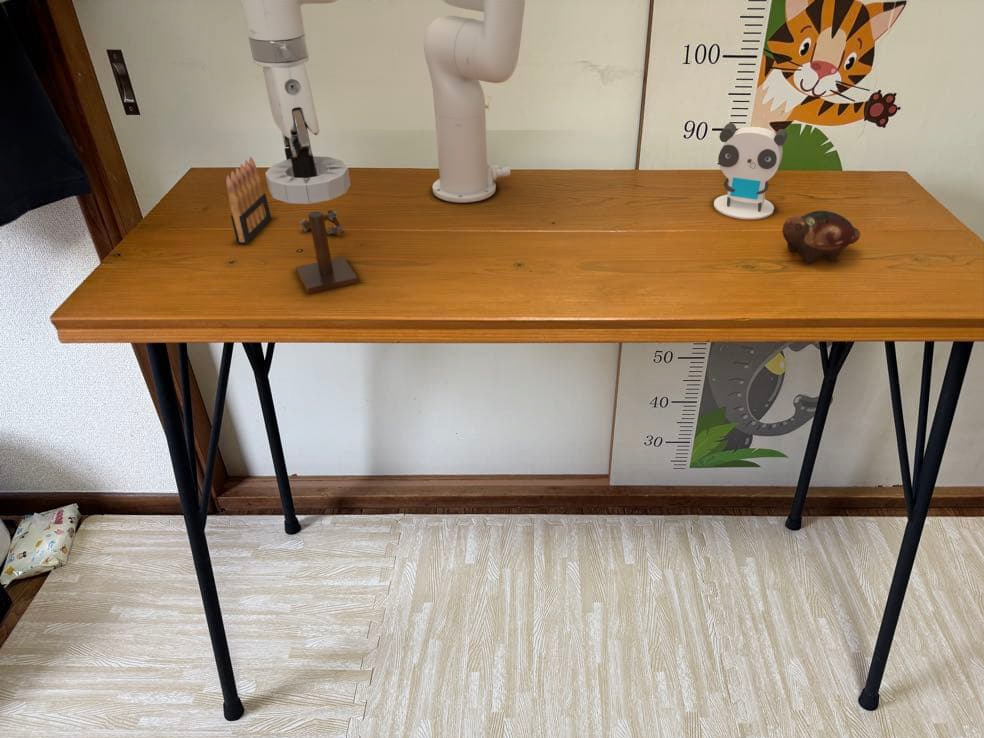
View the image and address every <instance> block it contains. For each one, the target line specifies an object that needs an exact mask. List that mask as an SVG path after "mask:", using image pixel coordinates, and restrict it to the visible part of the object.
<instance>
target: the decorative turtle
mask: <svg viewBox="0 0 984 738" xmlns="http://www.w3.org/2000/svg"><path fill="white" fill-rule="evenodd" d="M781 232H782V236H783V238H784V240H785V241H786V246H787V250H788V252H790V253H797V252H799V254H800V256H801V257H802V260H803V262H804V263H805V264H806V265H810V264H811V265H812V264H813V263H815V262H816V261H817V260H819V259H820V258H821V257H824V258H825V259H826V261H828V262H830V263H831V262H834V261H835V260H836V259H837V258H838V257H839V256H840V255H841V254H842V252H843V251H844V250H845V249H846V248H847V247H848V246H850V245H853V244H855V243H856V242H857V241H858V240H859V239H860V237H861V232H860V230H859V229H858V228H857V227H854V226H853V224H852V223H851V222H850V220H848V219H847V218H846V217H844V216H842V215H840V214H838V213H837V212H833V211H827V210H815V211H811V212H808V213H805V214H803V215H801V216H798V215H793V216H790V217H788V218H787V219H786V221H784V223H783V226H782V229H781Z"/></svg>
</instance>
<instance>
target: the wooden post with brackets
mask: <svg viewBox="0 0 984 738" xmlns="http://www.w3.org/2000/svg"><path fill="white" fill-rule="evenodd" d="M338 214H339V213H338V211H336V210H331V209H328V210H327V213H326V214H323V216H324V222H326V221H329V222H330V223H331V224H334V225H333V226H332V227H328V228H326V233H327V235H331V234H333V235H334V234H335V233H336V232H337V231H338V233H340V235H342V234H344V233H345V230H344V228H343V226H342V224H341V223H340V222H339V220H338V218H337V216H338ZM299 224H300V226H301V228H302V229H303V232H307V231H309V230H311V226H310V221H309V219H307V218H304V219H302V221H300V222H299Z"/></svg>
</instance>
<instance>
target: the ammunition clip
mask: <svg viewBox="0 0 984 738" xmlns="http://www.w3.org/2000/svg"><path fill="white" fill-rule="evenodd" d="M226 189H227V194H228V202H229V207H230V211H231V215H230V218H231V223H232V228H233V230H234V235H235V239H236V240H235V241H236V243H237V244H244V245H246V244H249V243H250V242H251V241H252V240H253V239H254V238H255V237H256V236H257V235H258V234H259V233H260V232H261V231H262V230H263V229H264V228H265V227H266V225H268V223H269V222H270V221H271V220H272V215H271V211H270V207H269V202H268V199H267V195H266V193H265V192H264V189H263V185H262V180H261V178H260V176H259V173H258V169H257V166H256V162H255V161H254V159H253V157H252V156H249V158H248V160H246V159H245V160H244V165H243V164H242V163H241V164H240V166H239V168H238V167H236V168H235V172H234V170H233V171H231V172H230V176H229V174H228V175H226Z"/></svg>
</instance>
